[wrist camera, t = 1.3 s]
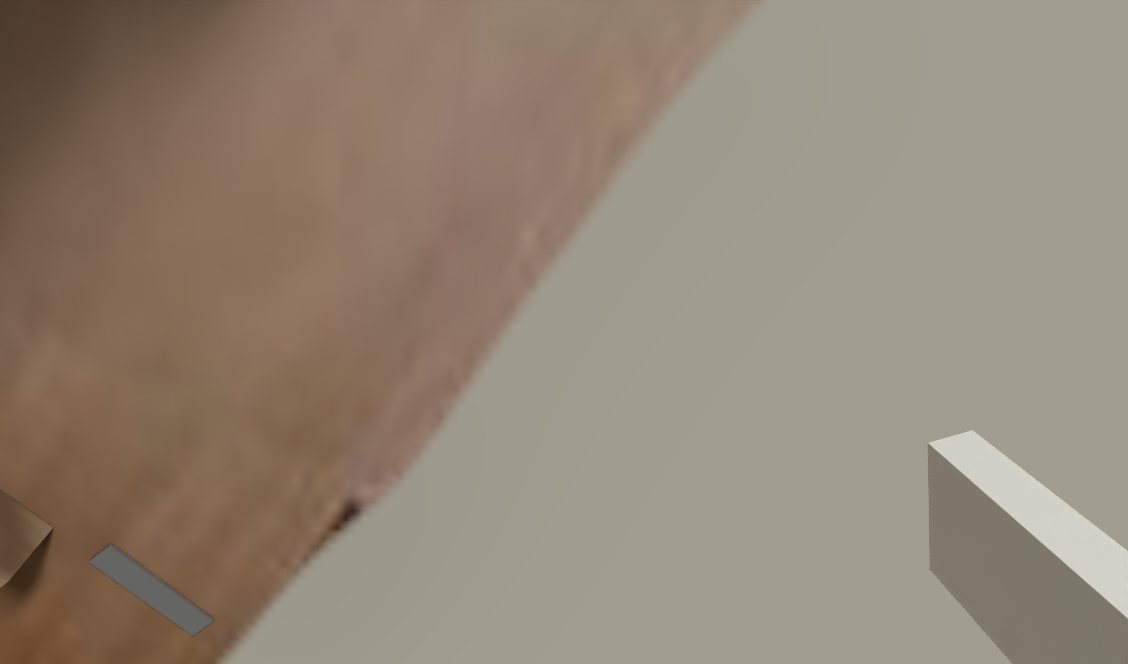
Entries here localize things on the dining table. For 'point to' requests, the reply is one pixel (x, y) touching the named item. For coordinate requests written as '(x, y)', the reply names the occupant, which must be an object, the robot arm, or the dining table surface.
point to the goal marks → (151, 589)
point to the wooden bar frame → (17, 535)
